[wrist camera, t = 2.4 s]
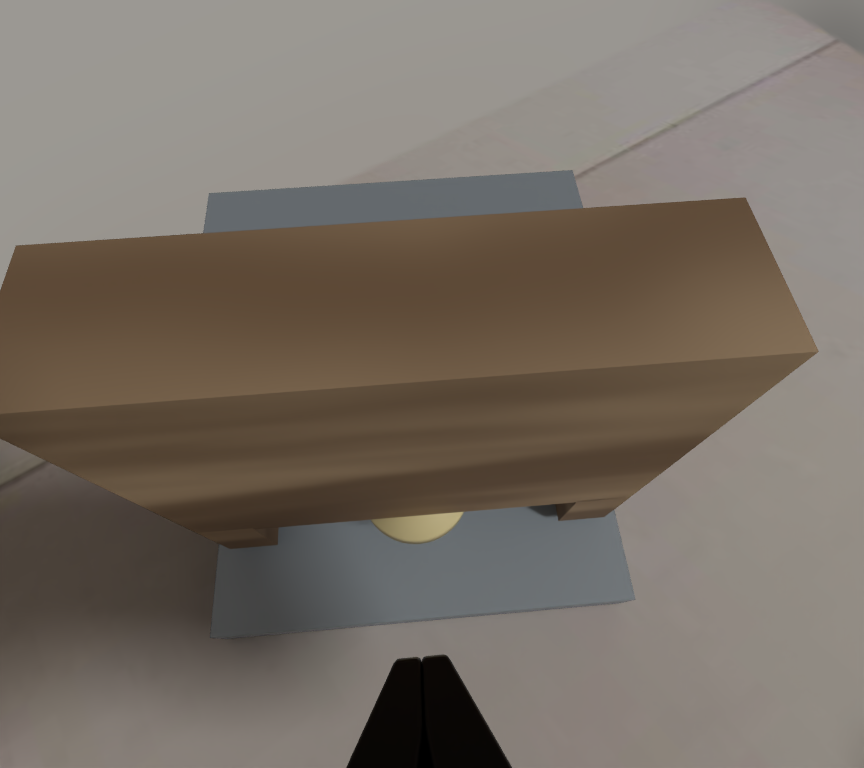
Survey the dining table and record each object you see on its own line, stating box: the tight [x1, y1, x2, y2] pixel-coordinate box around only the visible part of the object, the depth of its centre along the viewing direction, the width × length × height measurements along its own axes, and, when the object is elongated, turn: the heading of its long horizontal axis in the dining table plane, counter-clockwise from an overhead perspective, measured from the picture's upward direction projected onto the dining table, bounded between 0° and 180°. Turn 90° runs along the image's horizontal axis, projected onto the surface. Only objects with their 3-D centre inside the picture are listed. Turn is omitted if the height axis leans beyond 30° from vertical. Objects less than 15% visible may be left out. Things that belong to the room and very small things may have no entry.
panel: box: [0, 198, 819, 549], centre depth 13 cm, size 3×12×11 cm, turn 95°
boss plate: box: [203, 170, 635, 639], centre depth 17 cm, size 13×13×6 cm
